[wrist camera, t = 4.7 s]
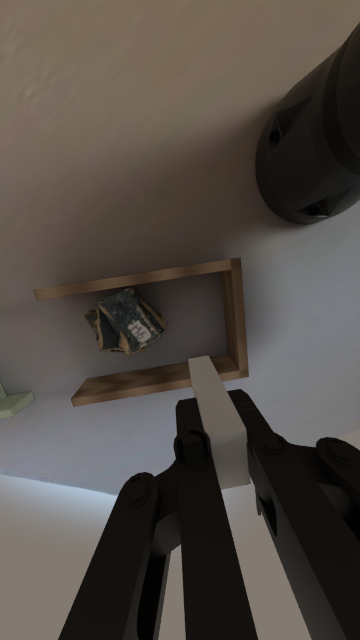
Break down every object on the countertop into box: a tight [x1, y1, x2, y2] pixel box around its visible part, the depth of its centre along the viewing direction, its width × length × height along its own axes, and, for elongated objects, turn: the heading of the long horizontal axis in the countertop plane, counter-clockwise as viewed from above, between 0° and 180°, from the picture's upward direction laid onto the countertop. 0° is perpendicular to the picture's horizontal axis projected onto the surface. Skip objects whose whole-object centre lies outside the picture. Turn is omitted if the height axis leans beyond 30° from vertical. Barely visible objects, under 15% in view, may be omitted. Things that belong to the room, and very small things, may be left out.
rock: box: [85, 288, 167, 355], centre depth 24 cm, size 9×9×6 cm
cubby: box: [33, 257, 249, 407], centre depth 26 cm, size 24×16×5 cm, turn 99°
